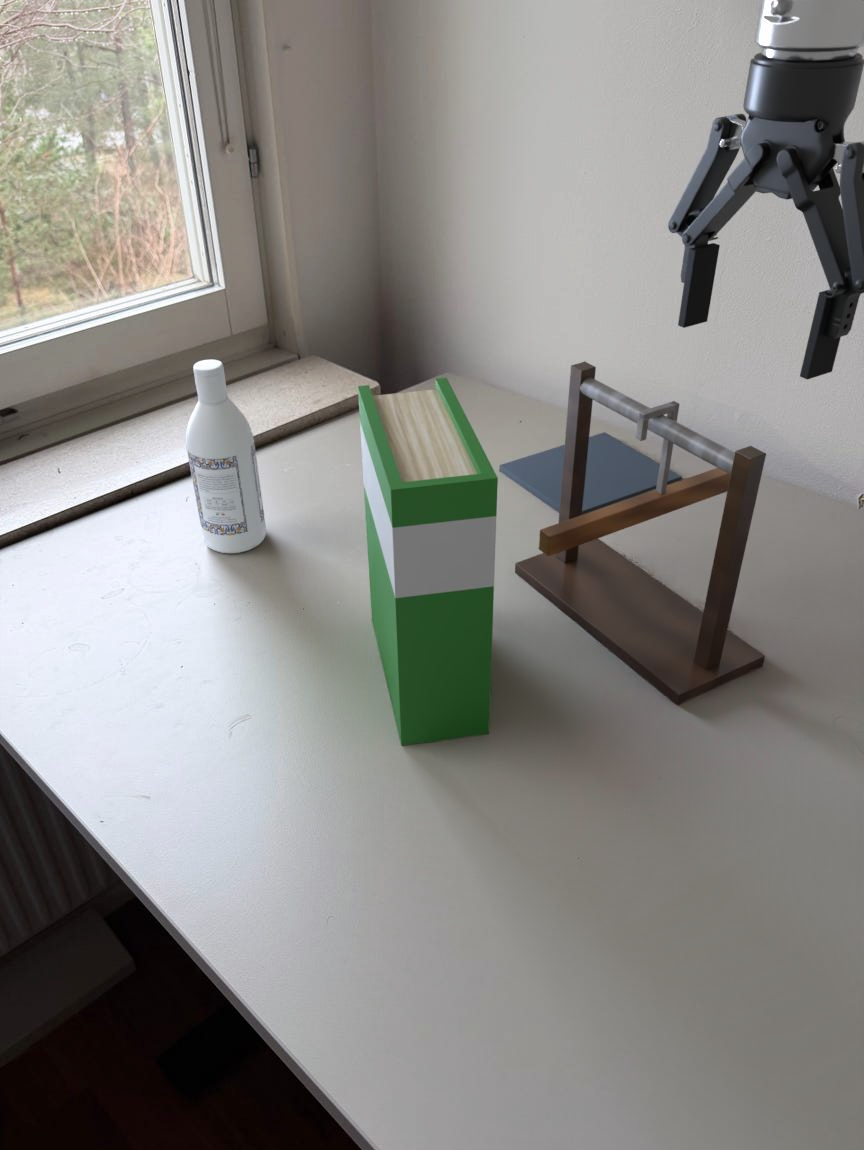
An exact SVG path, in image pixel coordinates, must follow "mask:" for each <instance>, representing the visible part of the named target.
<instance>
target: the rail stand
mask: <svg viewBox="0 0 864 1150" xmlns="http://www.w3.org/2000/svg"><path fill="white" fill-rule="evenodd" d="M596 370H597V367H596V366H595V365H592V364H590V363H588V362H587V361H581V362H578V363H575V364H571V365H570V374H569V386H568V399H567V413H566V422H565V423H566V424H565V436H564V445H565V448H564V461H563V473H562V486H561V498H560V511H559V512H558V523H561V522H563V521H566V520H569V519H572V518H575V517H578V516H581V515H582V507H583V496H584V486H585V476H586V465H587V455H588V444H589V437H590V433H591V423H592V413H593V401H594V402H596V403H598V404H600V405H602V406H604V407H606V408H607V409H609V410H611V411H612V412H615V413H617V414H618V415H620V416H621V417H624V418H626V419H627V420H629V421H631V422H633V423H635V424H637V423H638V415H639V412H640V411H643V410H647V409H650V408H651V407H649V406H647V405H645V404H644V403H642V402H640V401H637V400H636V399H634V398H631V397H630V396H628V395H626V394H625V393H622V392H620V391H619V390H616V389H615V388H612V387H611V386H608V385H606V384H605V383H603V382H601V381H599V380H597V379H595V378H596V372H597V371H596ZM647 431H649V432H651V433H653V434H655V435H657V436H658V437H660V438H662V439H666V440H668V441H670V442H671V443H673V445H675V446H677V447H678V448H681V449H683V451H686V452H688V453H689V454H692V455H694V456H695V457H697V458H699V459H701V460H703V461H705V462H706V463H708V464H710V465H712V466H713V467H715V468H719V469H721V470H723V471H724V472H726V473H728V474H730V480H729V485H728V490H727V492H726V496H725V500H724V506H723V512H722V516H721V520H720V527H719V531H718V532H719V533H718V536H717V541H716V546H715V551H714V556H713V560H712V561H713V562H712V567H711V572H710V576H709V581H708V587H707V592H706V597H705V601H704V606H703V610H701V609H699V608H698V607H696V606H695V605H694V604H693V603H691V602H689V601H688V600H687V599H685V598H684V597H683V596H681V595H680V594H678V593H676V591H674V590H672V589H671V588H669V586H667V585H666V584H663V582H661V581H660V580H658V579H656V578H655V577H654V576H652V575H651V574H649V572H647V571H645V570H644V569H642V567H639V565H637V564H635V563H634V562H632V560H630V559H628V558H627V557H625V556H624V555H622V554H621V553H619V552H618V551H617V550H615V549H614V548H612V547H611V546H610V545H608V544H607V543H605V542H604V541H602V540H601V539H600V538H598V539H595V540H592V541H589V542H587V543H584V544H581V545H578V546H576V547H573V548H570V549H567V550H565V551H562V552H559V553H556V554H554V555H551V556H547V555H546V554H544V553H543V552H542V553H540V554H537V555H533V556H531V557H528V558H526V559H522V560H520V561H517V562H515V564H514V573H515V574H516V575H517V576H518V577H519V578H521V579H522V580H523V581H524V582H525V583H527V584H528V585H529V586H530V587H532V588H533V589H534V590H536V592H537V593H539V594H540V595H542V596H543V597H544V598H545V599H546V600H547V601H549V602H550V603H551V604H552V605H553V606H555V607H556V608H557V609H559V610H560V611H561V612H562V613H564V614H565V615H566V616H567V617H568V618H570V619H571V620H572V621H573V622H574V623H576V624H577V625H578V626H579V627H580V628H582V629H583V630H584V631H586V632H587V633H588V634H589V635H590V636H592V637H593V638H594V639H595V640H597V642H599V643H600V644H601V645H602V646H604V647H605V648H607V649H608V650H609V651H610V652H611V653H612V654H614V655H615V656H616V657H618V658H619V659H620V660H621V661H622V662H624V664H626V665H627V666H628V667H630V668H631V669H632V670H633V671H635V672H636V673H637V674H638V675H640V677H642V678H643V680H645V681H646V682H648V683H649V684H650V685H652V686H653V687H654V688H655V689H656V690H658V691H659V692H660V693H661V694H663V695H664V696H665V697H666V698H667V699H668V700H670V702H672V703H674V704H675V705H676V706H679V705H681V704H683V703H685V702H687V701H689V700H691V699H694V698H696V697H698V696H700V695H703V694H705V693H707V692H710V691H712V690H714V689H716V688H719V687H720V686H722V685H724V684H726V683H729V682H732V681H733V680H735V679H738V678H740V677H742V676H744V675H746V674H749V673H751V672H753V671H755V670H757V669H760V668H761V667H763V666H764V662H765V658H766V655H765V654H763V652H760V651H759V650H757V648H755V647H753V646H752V645H751V644H749V642H746V641H745V640H744V639H742V638H741V637H739V636H738V635H737V634H735V633H734V632H732V631H731V630H729V625H730V620H731V615H732V611H733V607H734V602H735V598H736V592H737V589H738V583H739V579H740V575H741V570H742V565H743V562H744V556H745V553H746V547H747V543H748V538H749V533H750V529H751V525H752V521H753V516H754V512H755V506H756V503H757V497H758V493H759V489H760V484H761V480H762V475H763V471H764V466H765V461H766V457H767V453H766V452H765V451H762V450H760V449H758V448H756V447H754V446H753V445H749V446H745V447H742V448H740V449H737V450H735V451H733V450H732V449H729V448H727V447H726V446H725V445H722V444H720V443H718V442H716V441H714V440H712V439H710V438H708V437H707V436H704V435H703V434H701V433H699V432H697V431H695V430H693V429H691V428H689V427H687V426H685V425H683V424H681V423H680V422H678V421H677V422H676V421H674V420H672V419H670V418H668V417H667V415H665V414H664V415H661V416H658V417H655V418H652V419H649V421H648V429H647Z"/></svg>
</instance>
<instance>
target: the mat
mask: <svg viewBox="0 0 864 1150" xmlns="http://www.w3.org/2000/svg"><path fill="white" fill-rule="evenodd" d="M564 448H565V444H562V445H559V446H556V447H553V448H549V449H547V450H543V451H540V452H537V453H533V454H531V455H527V456H524V457H521V458H518V459H517V458H516V459H514V460H512V461H508V462H505V463H502V464H499V465H498V467H499V468H498V470H499V472H500V473H502V474H503V475H505V476H506V477H508V478H509V479H510V480H512V481H513V482H514V483H516V484H518V485H519V486H520V487H522V488H523V489H524V490H526V491H528V492H529V493H530V494H531V495H533V496H534V497H536V498H538V499H539V500H540V501H541V502H543V503H544V504H546V505H547V506H549V507H550V508H552V509H553V510H555V511H556V512H557V513H559V511H560V498H561V486H562V473H563V461H564ZM659 467H660V462H657V461H656V460H655V459H652V458H651V457H649V456H648V455H645V454H644V453H642V452H640V451H638V450H637V449H635V448H634V447H631V446H630V445H628V444H627V443H625V442H623V441H622V440H619V439H618V438H616V437H614V436H612V435H611V434H608V433H607V432H606V431H604V432H601V433H597V434H594V435H591V436H589V444H588V455H587V465H586V476H585V486H584V496H583V507H582V515H584V514H586V513H589V512H592V511H595V510H598V509H601V508H604V507H606V506H609V505H612V504H615V503H618V502H621V501H624V500H626V499H629V498H632V497H635V496H638V495H641V494H644V493H646V492H649V491H652V490H655V489H656V487H657V480H658V473H659ZM681 480H683V476H682V475H680V474H678V473H676V472H675V471H673V470H671V469H669V476H668V482H667V485H669V484H672V483H675V482H678V481H681Z"/></svg>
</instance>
